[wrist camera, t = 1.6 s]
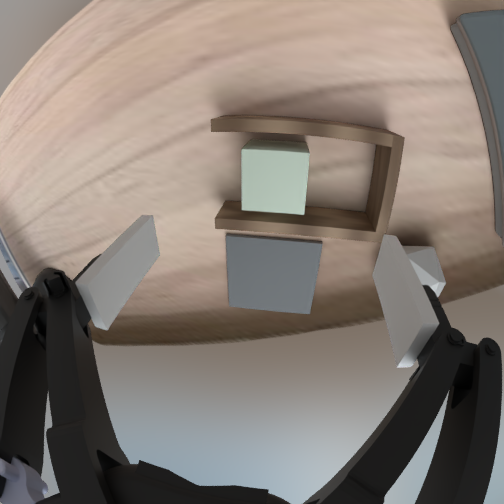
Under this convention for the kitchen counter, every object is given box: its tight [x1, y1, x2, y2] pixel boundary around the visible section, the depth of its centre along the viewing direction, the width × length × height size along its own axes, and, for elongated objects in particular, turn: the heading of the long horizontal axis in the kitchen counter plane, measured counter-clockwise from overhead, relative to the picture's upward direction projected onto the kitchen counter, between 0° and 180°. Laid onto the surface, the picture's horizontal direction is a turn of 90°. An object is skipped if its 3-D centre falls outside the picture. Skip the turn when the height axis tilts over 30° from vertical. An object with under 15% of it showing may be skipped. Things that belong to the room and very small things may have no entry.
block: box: [241, 139, 310, 215], centre depth 27 cm, size 6×6×6 cm
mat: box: [226, 234, 322, 314], centre depth 37 cm, size 12×12×1 cm
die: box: [402, 246, 446, 297], centre depth 30 cm, size 8×9×10 cm
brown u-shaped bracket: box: [211, 116, 405, 243], centre depth 27 cm, size 18×11×5 cm, turn 90°
